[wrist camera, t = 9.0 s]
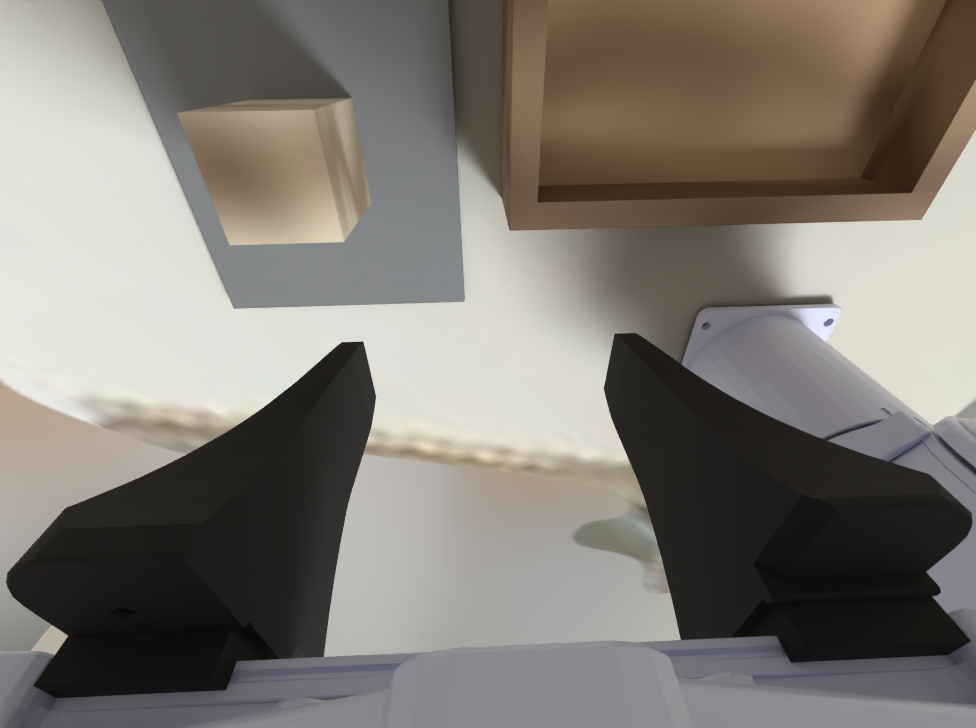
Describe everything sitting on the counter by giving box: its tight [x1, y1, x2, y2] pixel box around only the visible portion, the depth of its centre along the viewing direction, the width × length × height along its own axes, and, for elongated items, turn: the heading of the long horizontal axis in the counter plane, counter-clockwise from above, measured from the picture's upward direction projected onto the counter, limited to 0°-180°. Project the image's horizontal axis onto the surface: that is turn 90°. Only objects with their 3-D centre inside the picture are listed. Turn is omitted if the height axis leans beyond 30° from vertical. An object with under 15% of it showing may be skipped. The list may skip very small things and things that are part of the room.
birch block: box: [177, 98, 371, 245], centre depth 15 cm, size 4×4×5 cm
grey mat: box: [102, 0, 465, 308], centre depth 18 cm, size 14×12×1 cm
